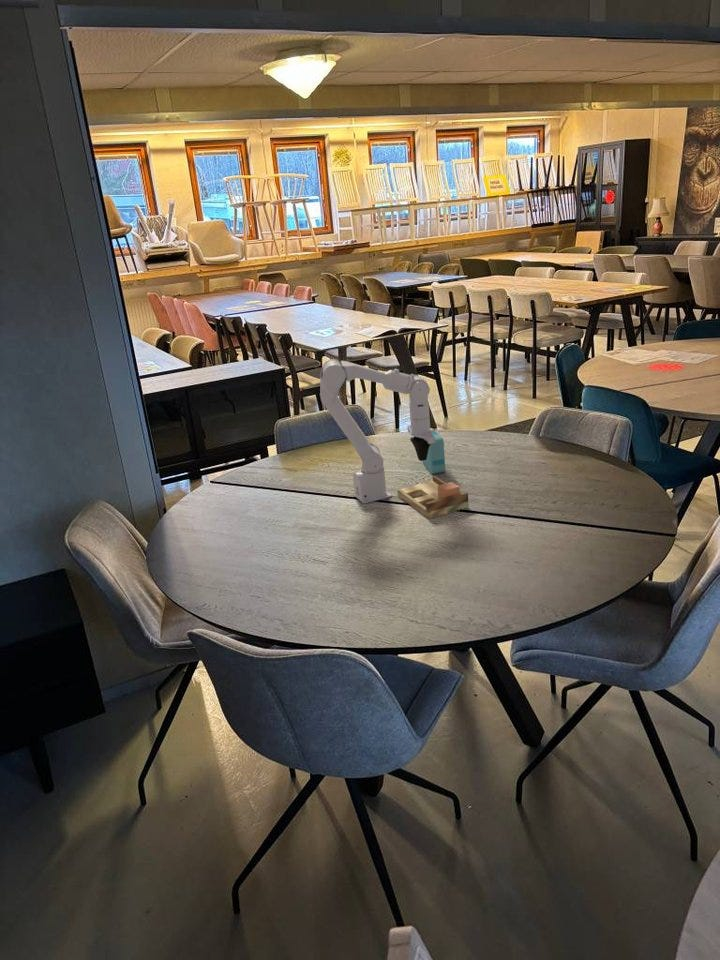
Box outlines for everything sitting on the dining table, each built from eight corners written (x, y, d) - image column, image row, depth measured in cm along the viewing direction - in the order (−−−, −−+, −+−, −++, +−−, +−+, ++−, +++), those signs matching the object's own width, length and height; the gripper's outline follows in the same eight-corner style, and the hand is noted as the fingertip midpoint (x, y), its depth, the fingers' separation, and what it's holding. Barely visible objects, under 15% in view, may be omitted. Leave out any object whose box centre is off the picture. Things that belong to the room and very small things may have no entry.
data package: (445, 473, 220) (443, 438, 216) (432, 475, 220) (430, 440, 215) (435, 461, 231) (433, 428, 227) (422, 463, 231) (420, 430, 226)
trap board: (428, 518, 189) (427, 504, 188) (397, 495, 207) (396, 482, 205) (468, 507, 193) (467, 493, 192) (435, 486, 211) (434, 472, 209)
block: (446, 504, 192) (446, 490, 190) (438, 499, 196) (437, 485, 194) (460, 500, 194) (459, 486, 192) (451, 496, 197) (450, 481, 196)
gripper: (443, 420, 196) (445, 463, 200) (421, 409, 208) (423, 450, 213) (421, 424, 193) (424, 468, 198) (400, 413, 206) (403, 455, 211)
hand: (422, 459), depth 206 cm, fingers closed
